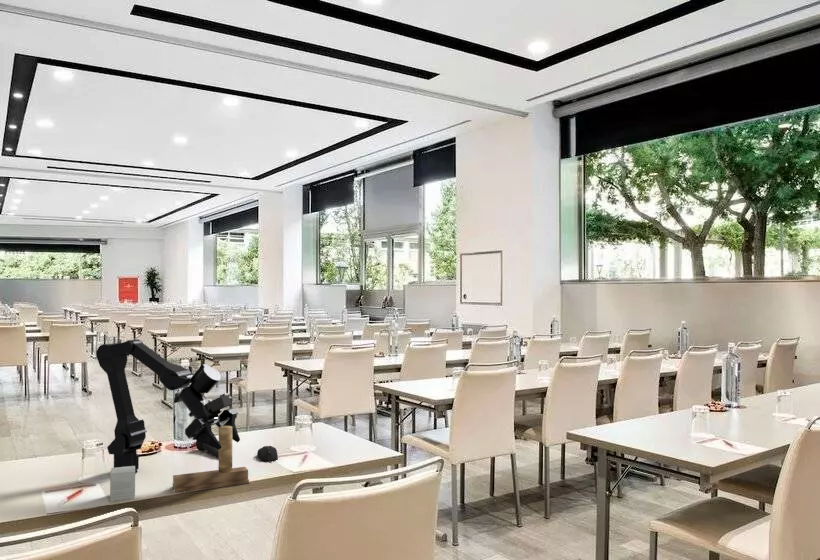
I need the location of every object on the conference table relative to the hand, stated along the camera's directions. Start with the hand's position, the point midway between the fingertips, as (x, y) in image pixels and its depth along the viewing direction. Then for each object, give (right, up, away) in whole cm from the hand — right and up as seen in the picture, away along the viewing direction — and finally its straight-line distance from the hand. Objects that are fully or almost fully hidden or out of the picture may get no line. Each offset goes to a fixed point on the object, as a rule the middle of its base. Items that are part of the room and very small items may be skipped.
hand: (229, 444), depth 189 cm
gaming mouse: (+5, -12, +28) cm, 30 cm away
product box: (-25, -11, -12) cm, 30 cm away
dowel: (-1, -8, 0) cm, 8 cm away
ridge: (-5, -11, -1) cm, 12 cm away
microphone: (-16, -12, +32) cm, 38 cm away
